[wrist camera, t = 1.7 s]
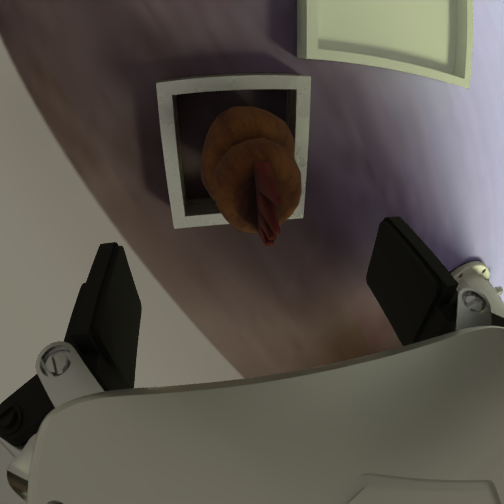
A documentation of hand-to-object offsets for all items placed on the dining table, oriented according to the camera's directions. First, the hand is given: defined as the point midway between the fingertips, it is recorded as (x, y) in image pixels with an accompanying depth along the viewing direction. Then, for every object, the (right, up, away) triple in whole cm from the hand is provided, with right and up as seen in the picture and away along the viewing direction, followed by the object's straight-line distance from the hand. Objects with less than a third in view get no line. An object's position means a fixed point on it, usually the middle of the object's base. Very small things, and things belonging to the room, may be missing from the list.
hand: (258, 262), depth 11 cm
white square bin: (-2, +9, +13) cm, 16 cm away
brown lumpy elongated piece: (-1, +9, +13) cm, 16 cm away
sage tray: (+11, +22, +5) cm, 26 cm away
